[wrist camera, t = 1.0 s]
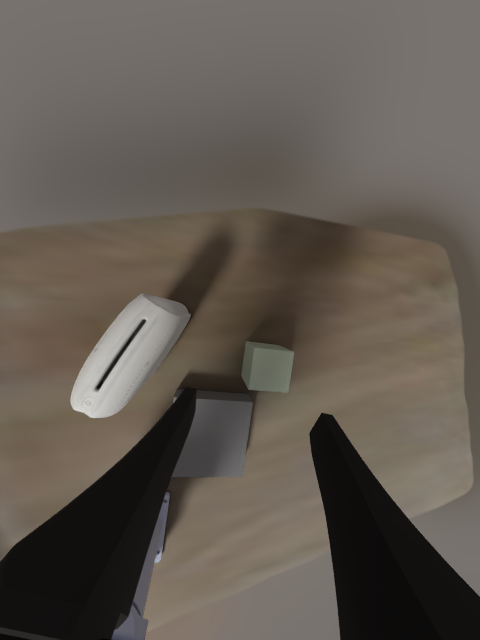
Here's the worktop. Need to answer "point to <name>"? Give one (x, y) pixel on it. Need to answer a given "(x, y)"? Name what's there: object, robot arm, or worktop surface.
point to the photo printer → (128, 355)
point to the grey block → (216, 435)
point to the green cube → (267, 367)
